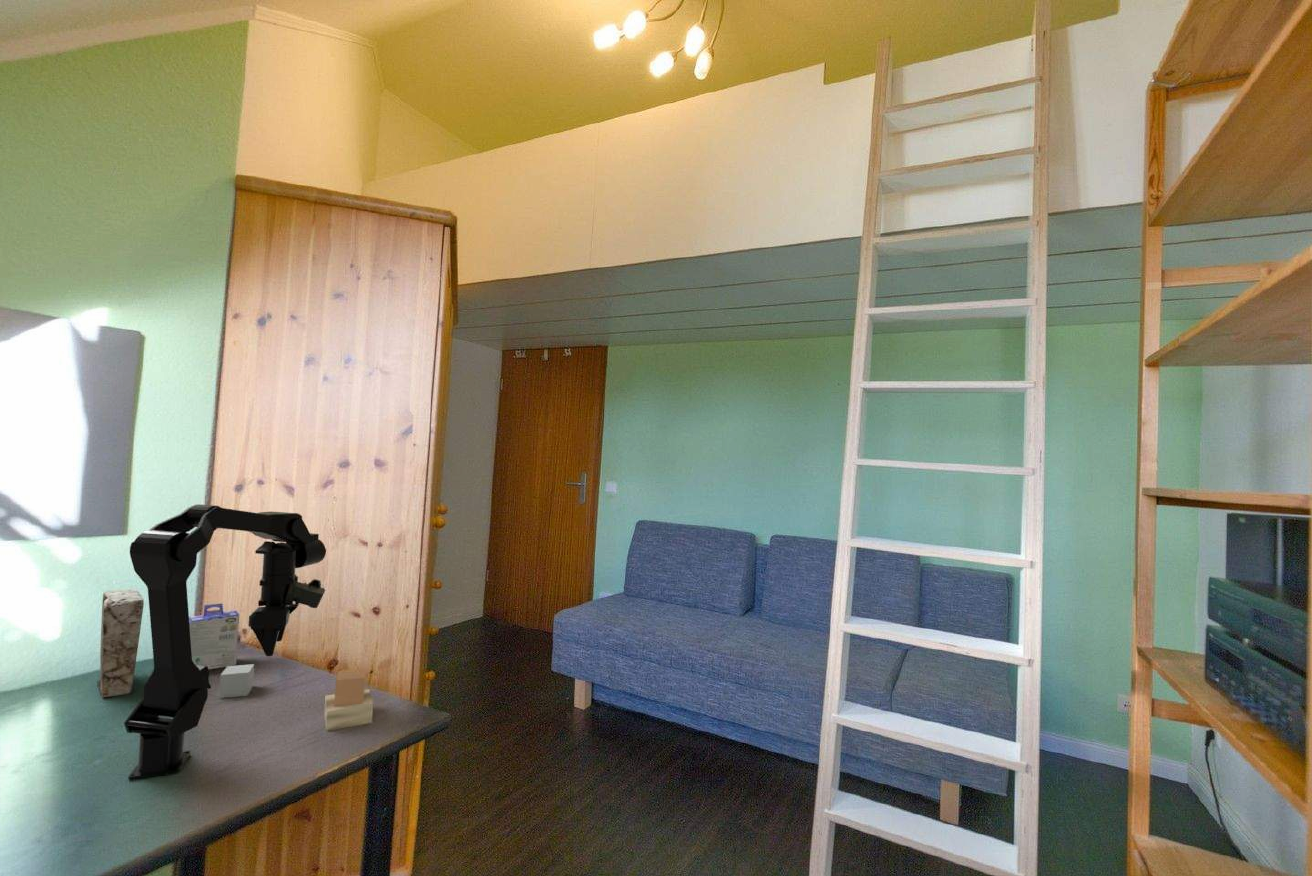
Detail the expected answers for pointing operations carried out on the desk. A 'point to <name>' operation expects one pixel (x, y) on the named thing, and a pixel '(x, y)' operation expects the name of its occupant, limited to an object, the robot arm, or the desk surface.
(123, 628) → the stone block
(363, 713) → the birch block
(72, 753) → the desk surface
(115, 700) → the desk surface
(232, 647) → the ink cartridge box
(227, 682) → the light grey cube
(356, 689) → the tan cube
